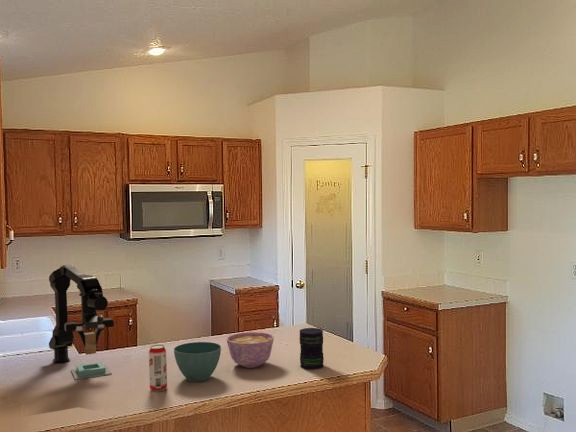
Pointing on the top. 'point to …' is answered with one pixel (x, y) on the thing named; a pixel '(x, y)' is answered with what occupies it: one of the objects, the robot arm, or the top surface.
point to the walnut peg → (90, 343)
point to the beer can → (157, 368)
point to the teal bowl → (197, 359)
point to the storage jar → (311, 348)
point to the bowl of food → (250, 348)
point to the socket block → (90, 370)
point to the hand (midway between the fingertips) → (90, 345)
